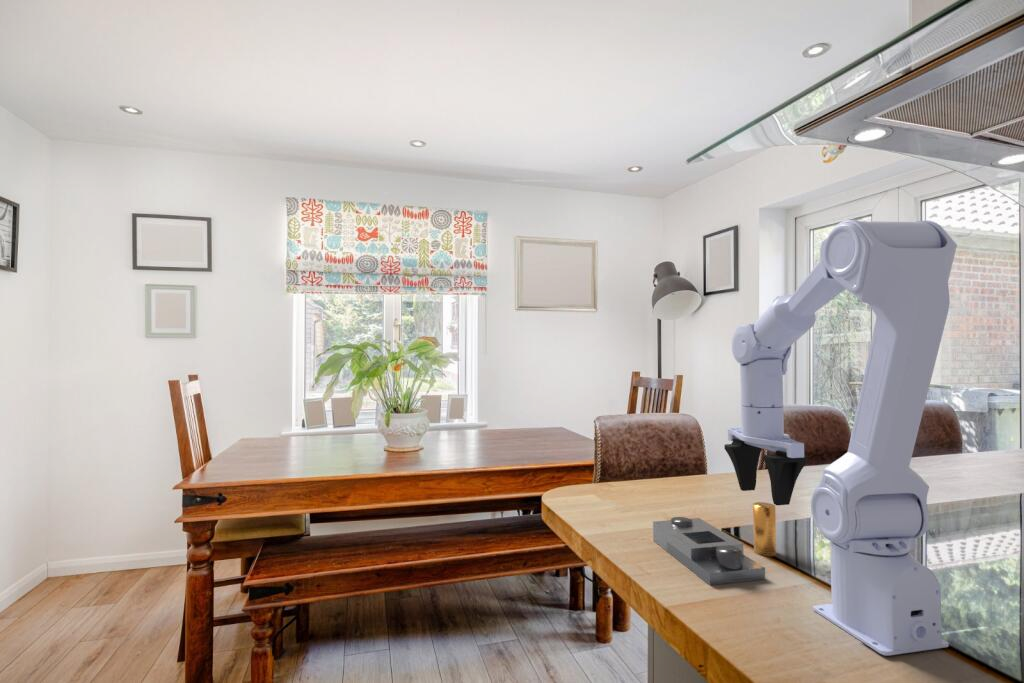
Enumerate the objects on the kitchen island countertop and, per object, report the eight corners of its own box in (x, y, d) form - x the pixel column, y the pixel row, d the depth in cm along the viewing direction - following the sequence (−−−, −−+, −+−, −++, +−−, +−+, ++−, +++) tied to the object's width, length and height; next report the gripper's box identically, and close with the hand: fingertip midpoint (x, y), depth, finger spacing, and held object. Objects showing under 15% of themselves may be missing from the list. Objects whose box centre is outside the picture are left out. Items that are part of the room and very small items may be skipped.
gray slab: (765, 579, 68) (764, 552, 68) (709, 585, 66) (709, 557, 66) (699, 536, 83) (698, 514, 84) (653, 540, 82) (652, 518, 82)
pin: (781, 555, 75) (779, 507, 76) (762, 557, 75) (761, 508, 75) (767, 547, 78) (766, 501, 79) (749, 549, 78) (748, 502, 78)
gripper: (822, 410, 71) (825, 509, 70) (754, 400, 85) (756, 483, 85) (777, 412, 69) (779, 513, 69) (715, 401, 84) (717, 485, 83)
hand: (763, 496), depth 77 cm, fingers open, 7 cm apart
